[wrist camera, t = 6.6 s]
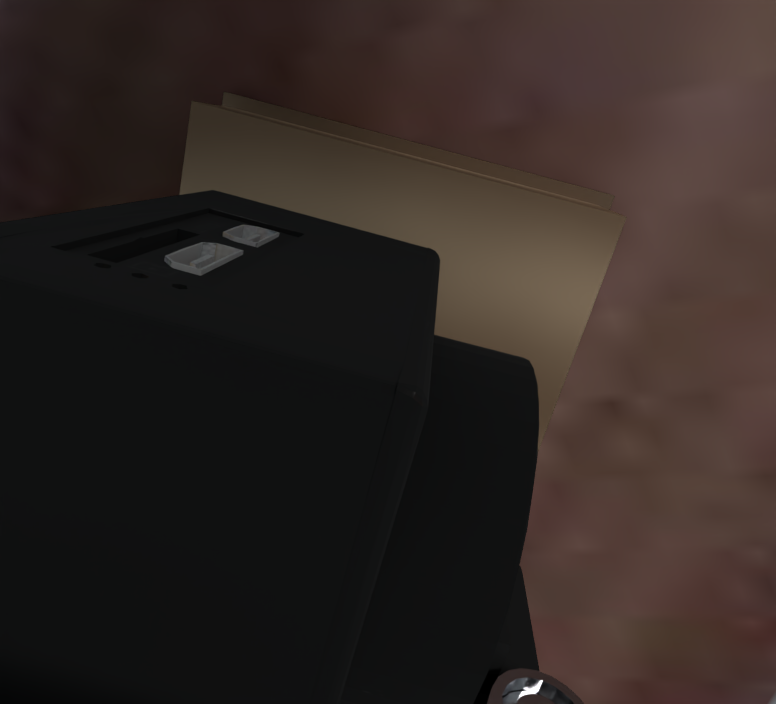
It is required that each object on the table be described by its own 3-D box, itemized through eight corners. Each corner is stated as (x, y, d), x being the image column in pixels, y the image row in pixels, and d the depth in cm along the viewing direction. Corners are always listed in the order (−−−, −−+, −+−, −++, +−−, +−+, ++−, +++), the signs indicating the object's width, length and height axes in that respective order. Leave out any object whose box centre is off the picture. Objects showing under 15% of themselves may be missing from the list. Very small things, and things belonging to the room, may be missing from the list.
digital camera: (370, 692, 14) (301, 1154, 8) (146, 630, 14) (-110, 1035, 8) (506, 266, 11) (592, 441, 4) (215, 188, 11) (-131, 243, 4)
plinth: (230, 92, 20) (179, 81, 16) (609, 194, 20) (647, 206, 16) (178, 433, 24) (128, 486, 21) (491, 518, 24) (499, 587, 20)
